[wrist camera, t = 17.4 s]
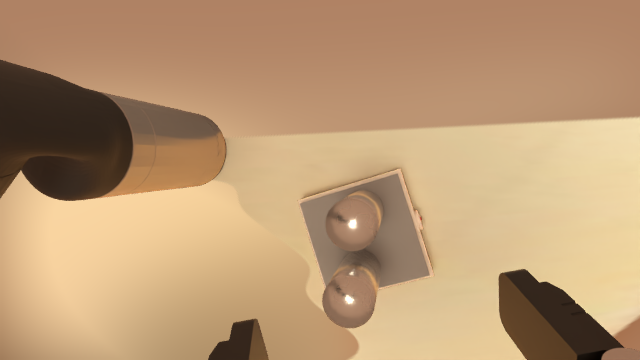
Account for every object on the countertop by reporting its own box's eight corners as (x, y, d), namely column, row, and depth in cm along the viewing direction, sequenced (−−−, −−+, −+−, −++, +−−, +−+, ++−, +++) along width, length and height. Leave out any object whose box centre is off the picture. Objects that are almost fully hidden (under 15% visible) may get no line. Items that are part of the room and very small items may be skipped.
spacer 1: (350, 235, 43) (334, 256, 33) (338, 196, 43) (318, 207, 33) (389, 224, 42) (384, 243, 32) (377, 184, 42) (368, 191, 32)
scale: (332, 294, 47) (327, 304, 44) (302, 198, 47) (295, 201, 44) (437, 268, 44) (439, 276, 41) (404, 166, 45) (404, 167, 41)
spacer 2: (347, 293, 43) (331, 333, 34) (335, 255, 43) (315, 283, 34) (386, 284, 42) (381, 321, 33) (374, 245, 42) (365, 270, 33)
